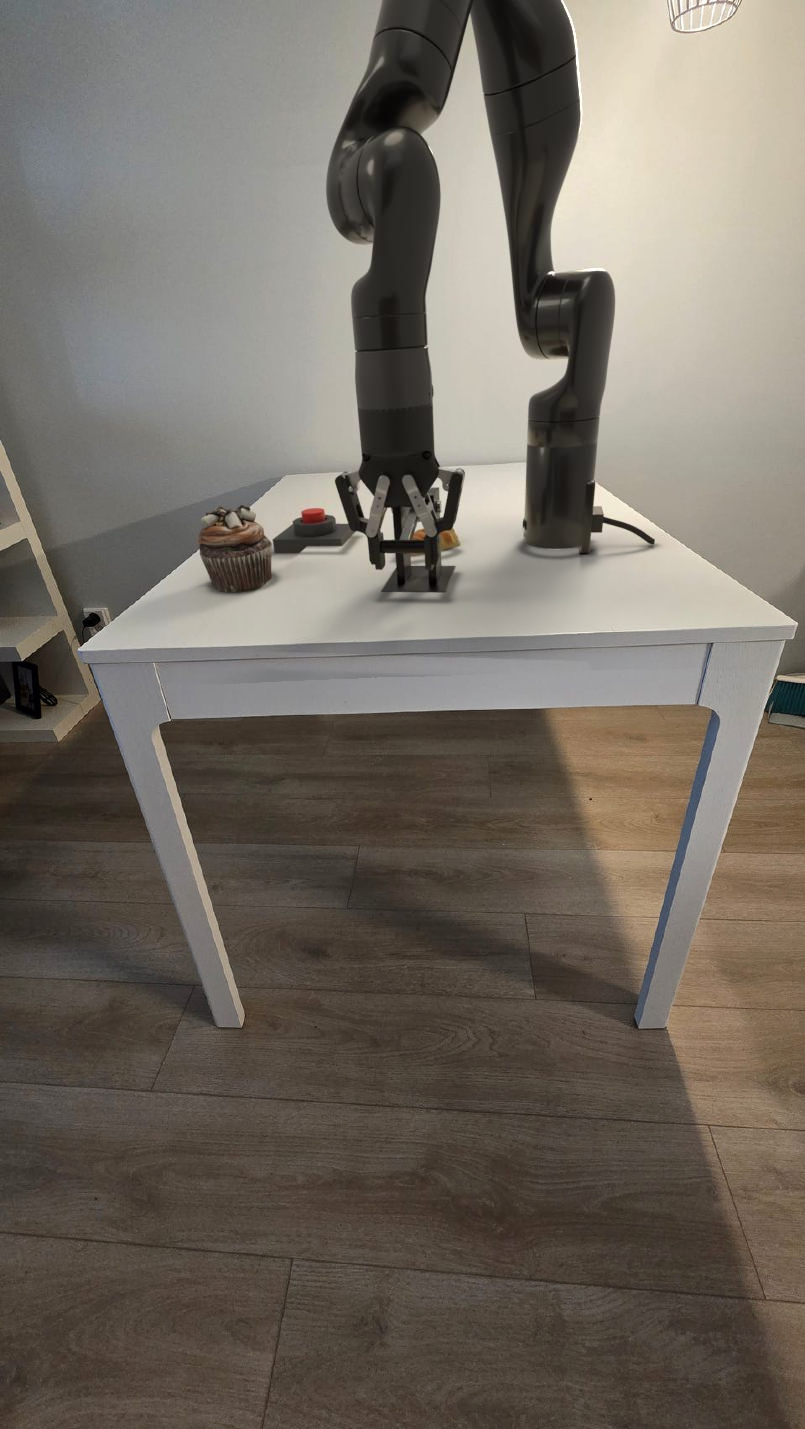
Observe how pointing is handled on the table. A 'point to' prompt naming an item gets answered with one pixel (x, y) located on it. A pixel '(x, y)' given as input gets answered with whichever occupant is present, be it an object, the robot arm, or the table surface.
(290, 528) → the control block
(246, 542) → the cupcake
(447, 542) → the pastry
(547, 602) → the table surface
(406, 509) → the lever
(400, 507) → the bracket
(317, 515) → the button
